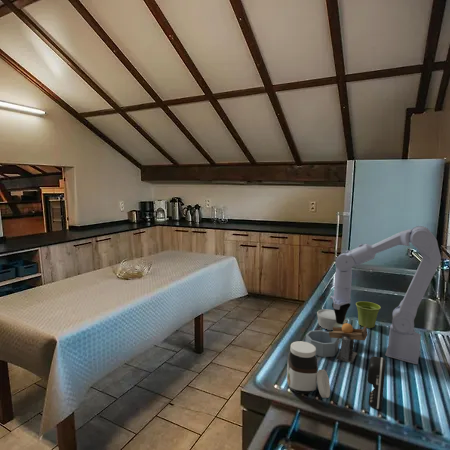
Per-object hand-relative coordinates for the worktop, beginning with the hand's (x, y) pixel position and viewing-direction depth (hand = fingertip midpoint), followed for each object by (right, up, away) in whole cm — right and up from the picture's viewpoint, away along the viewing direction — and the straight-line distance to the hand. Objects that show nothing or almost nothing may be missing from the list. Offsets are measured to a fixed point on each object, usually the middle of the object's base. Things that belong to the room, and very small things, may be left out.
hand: (339, 322), depth 118 cm
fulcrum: (-1, -8, -10) cm, 13 cm away
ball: (-2, +1, -11) cm, 11 cm away
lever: (+2, -1, -6) cm, 6 cm away
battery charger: (-3, -11, -33) cm, 35 cm away
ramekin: (+1, -6, +14) cm, 15 cm away
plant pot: (+17, -6, +16) cm, 24 cm away
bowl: (-9, -7, -6) cm, 13 cm away
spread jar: (-19, -10, -29) cm, 36 cm away
